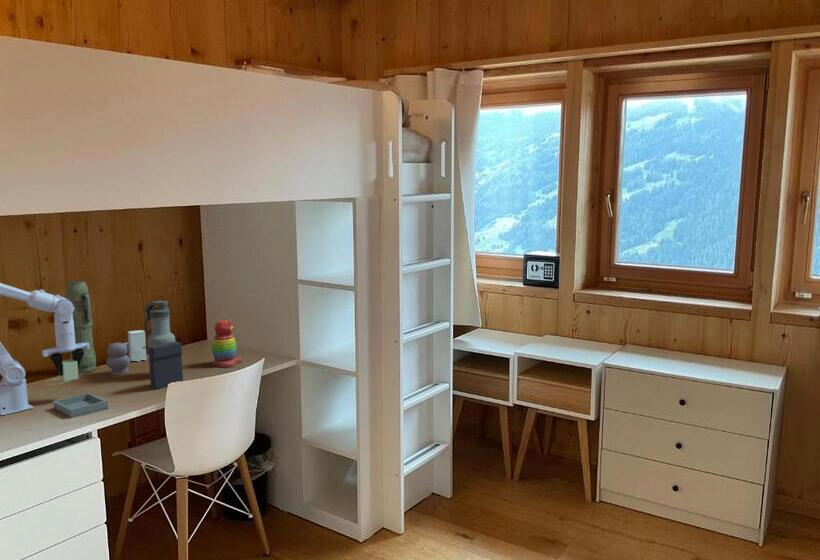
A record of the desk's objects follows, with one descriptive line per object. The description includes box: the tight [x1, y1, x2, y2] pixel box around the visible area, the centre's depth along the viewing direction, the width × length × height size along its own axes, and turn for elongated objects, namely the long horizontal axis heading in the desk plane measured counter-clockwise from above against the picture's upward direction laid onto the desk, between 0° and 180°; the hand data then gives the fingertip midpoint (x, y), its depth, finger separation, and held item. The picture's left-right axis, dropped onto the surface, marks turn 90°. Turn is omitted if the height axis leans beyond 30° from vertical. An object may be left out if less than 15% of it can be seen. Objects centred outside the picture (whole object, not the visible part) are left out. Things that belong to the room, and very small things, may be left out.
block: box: [58, 358, 80, 383], centre depth 231 cm, size 4×4×6 cm
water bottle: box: [143, 300, 176, 369], centre depth 258 cm, size 10×10×28 cm
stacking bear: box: [211, 318, 243, 369], centre depth 273 cm, size 11×10×18 cm
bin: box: [52, 392, 109, 419], centre depth 222 cm, size 12×14×2 cm
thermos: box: [64, 279, 97, 374], centre depth 265 cm, size 9×12×35 cm
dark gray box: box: [147, 340, 184, 390], centre depth 245 cm, size 11×4×15 cm, turn 141°
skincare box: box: [127, 329, 147, 362], centre depth 281 cm, size 6×4×12 cm
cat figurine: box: [105, 341, 131, 376], centre depth 262 cm, size 8×8×12 cm
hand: (68, 373), depth 231 cm, fingers closed on block, 4 cm apart
